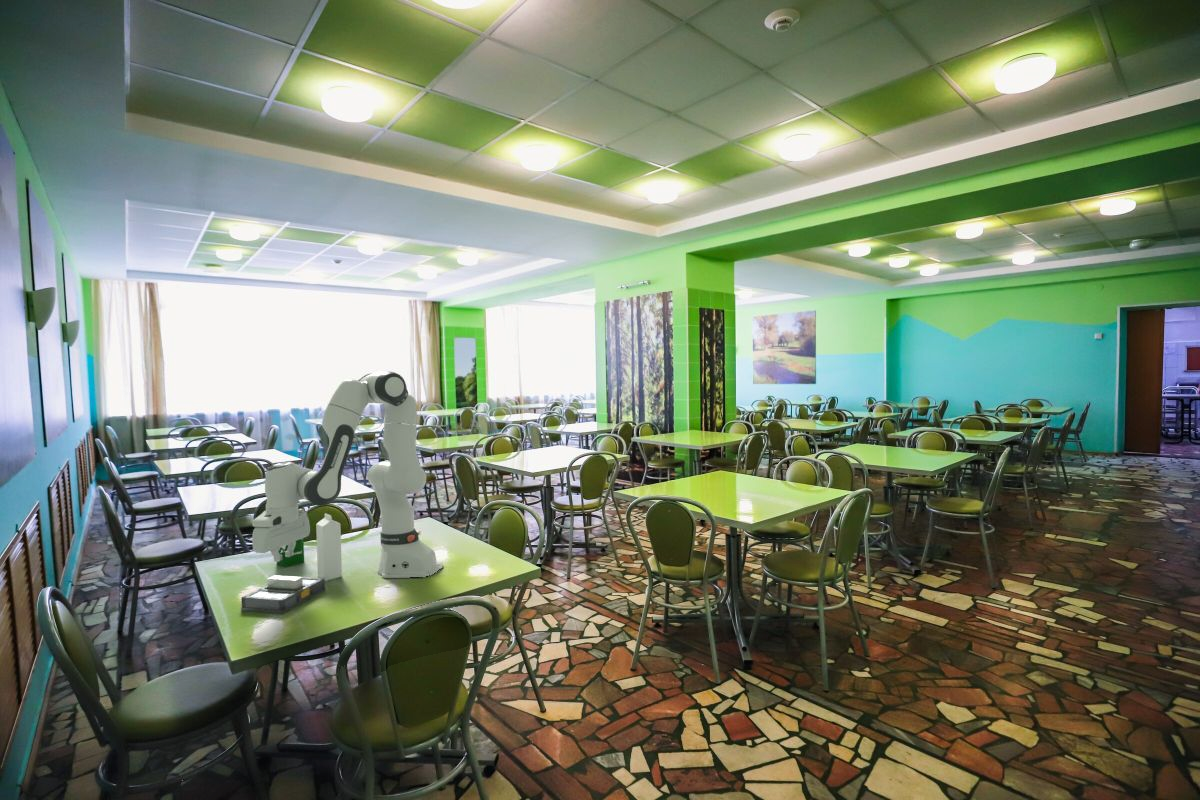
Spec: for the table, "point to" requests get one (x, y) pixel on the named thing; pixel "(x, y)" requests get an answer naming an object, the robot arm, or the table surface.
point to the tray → (282, 597)
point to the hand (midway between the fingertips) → (283, 558)
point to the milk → (329, 548)
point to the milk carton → (297, 554)
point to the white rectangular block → (284, 583)
